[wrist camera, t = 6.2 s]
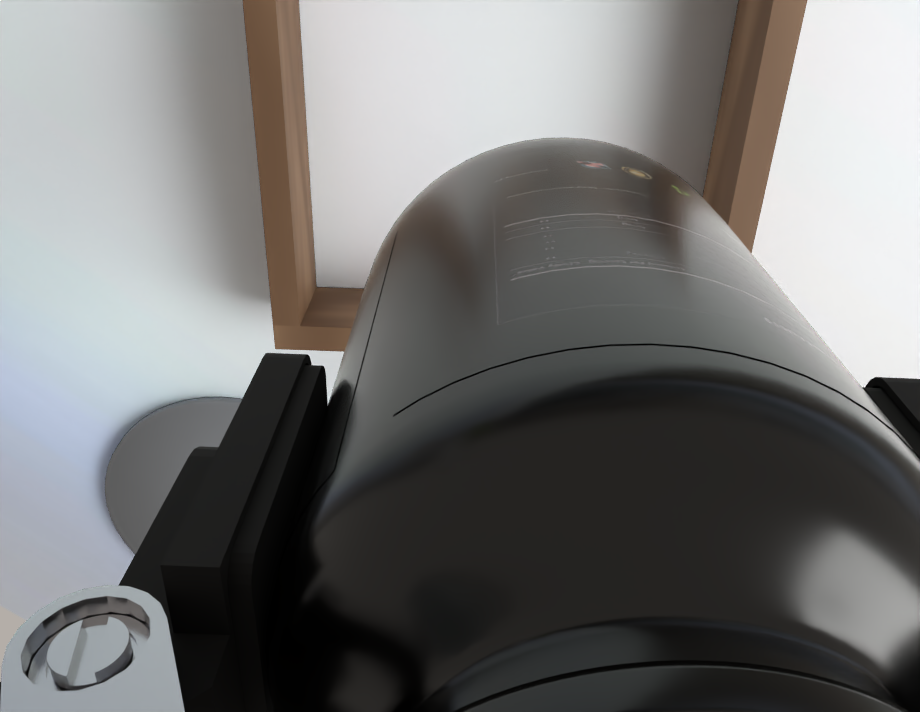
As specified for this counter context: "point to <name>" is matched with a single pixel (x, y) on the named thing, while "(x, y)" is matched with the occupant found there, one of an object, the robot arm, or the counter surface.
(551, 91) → the counter surface
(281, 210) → the bin
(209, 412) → the mat
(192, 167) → the counter surface
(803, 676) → the supplement bottle
